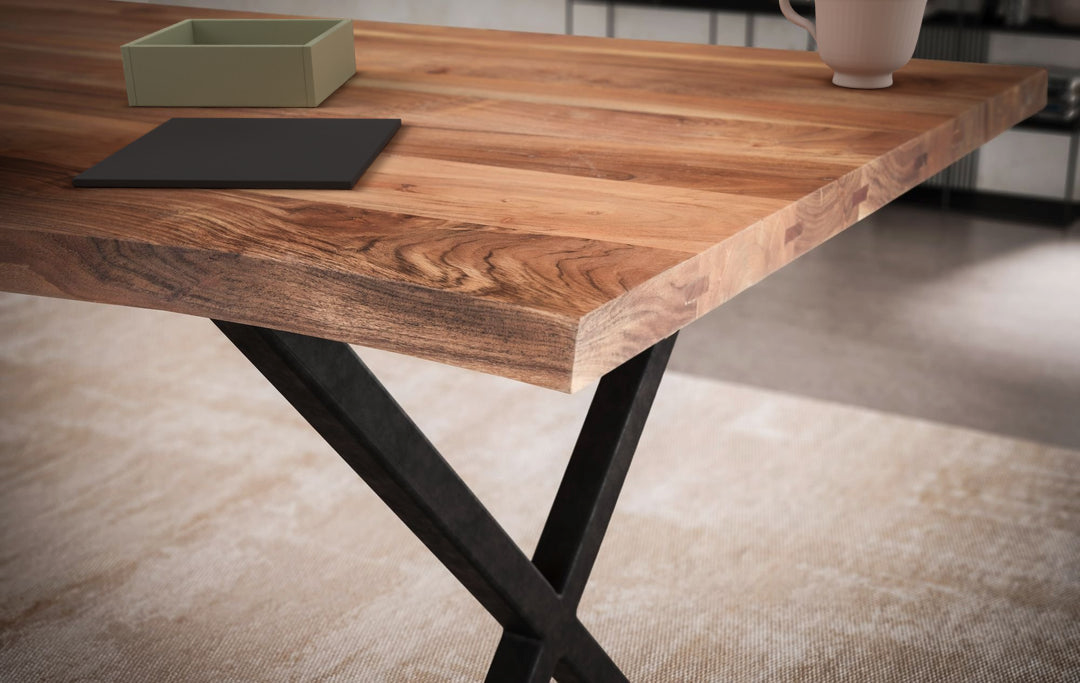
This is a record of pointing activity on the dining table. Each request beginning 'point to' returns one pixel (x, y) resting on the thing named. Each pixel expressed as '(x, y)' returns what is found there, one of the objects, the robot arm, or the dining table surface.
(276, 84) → the crate
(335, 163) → the mat
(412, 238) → the dining table surface
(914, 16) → the teacup
